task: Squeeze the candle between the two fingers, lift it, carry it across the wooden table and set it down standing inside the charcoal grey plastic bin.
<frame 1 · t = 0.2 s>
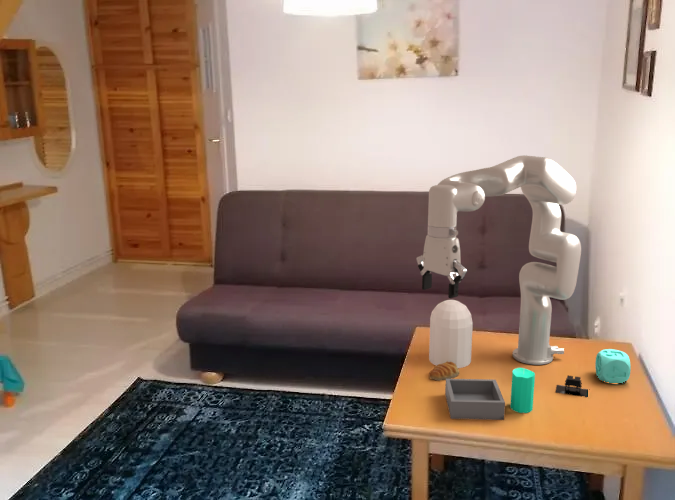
hand: (439, 292, 182), 31 cm above the table, tool pointing down, fingers open, 9 cm apart
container: (449, 360, 214), on the table
bin: (473, 406, 183), on the table
pastry: (444, 376, 203), on the table
candle: (521, 408, 182), on the table
decorative dice: (611, 379, 200), on the table
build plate: (572, 393, 192), on the table
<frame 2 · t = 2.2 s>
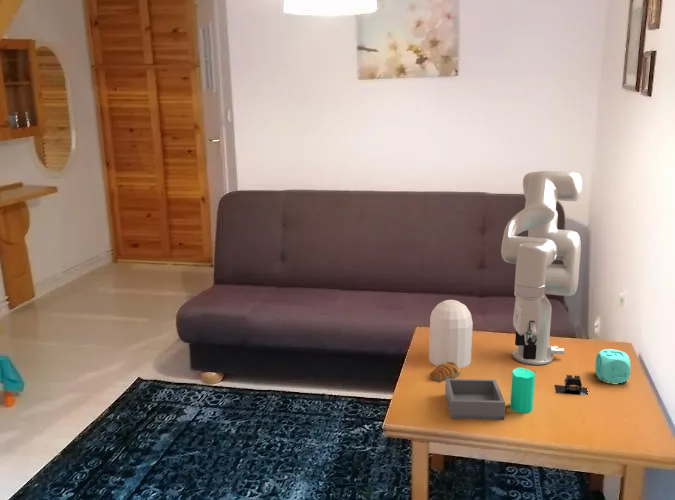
hand: (525, 351, 178), 17 cm above the table, tool pointing down, fingers open, 9 cm apart
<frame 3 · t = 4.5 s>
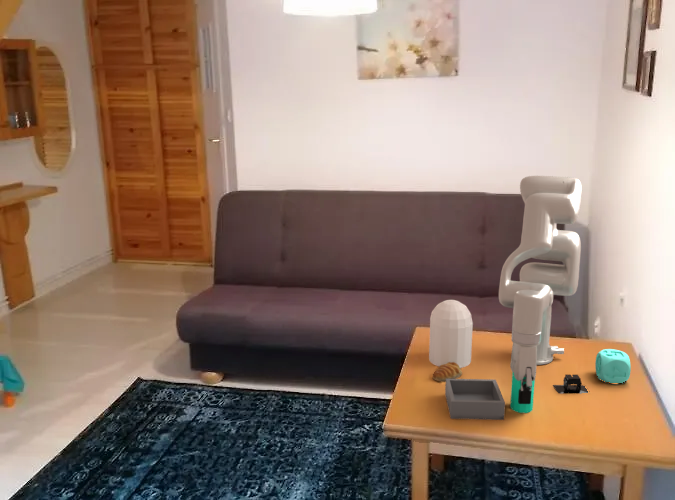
hand: (522, 398, 182), 3 cm above the table, tool pointing down, fingers closed on candle, 4 cm apart
candle: (521, 408, 182), on the table, touching gripper
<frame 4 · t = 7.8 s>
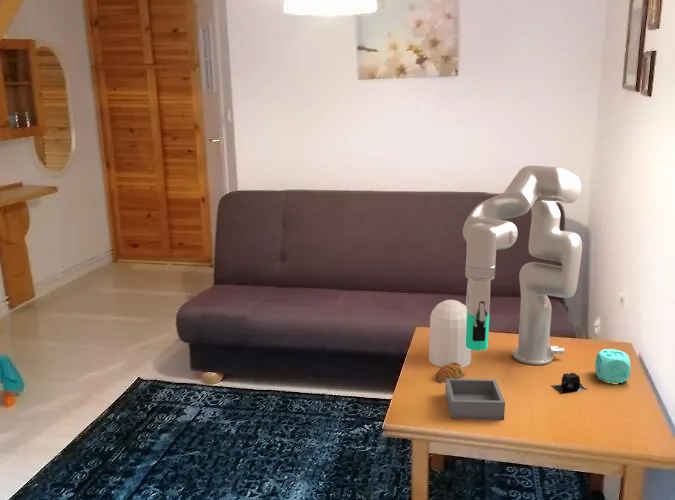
hand: (477, 336, 178), 21 cm above the table, tool pointing down, fingers closed on candle, 4 cm apart
candle: (476, 346, 179), point 18 cm above the table, touching gripper
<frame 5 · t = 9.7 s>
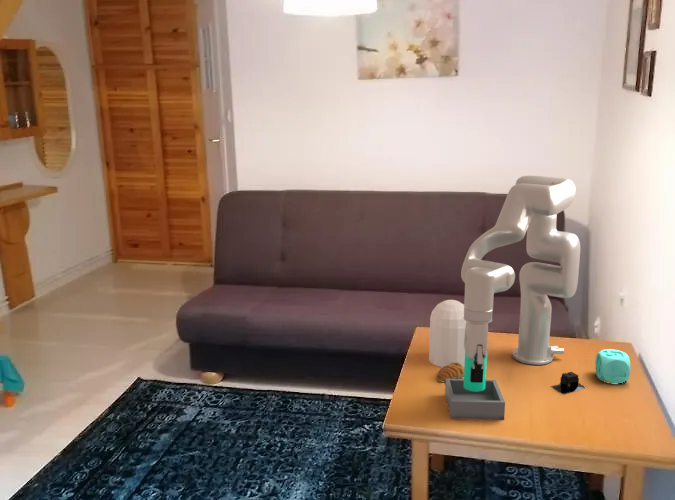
hand: (474, 376, 181), 9 cm above the table, tool pointing down, fingers closed on candle, 4 cm apart
candle: (474, 387, 182), point 6 cm above the table, touching gripper
when the fingers open (5 cm above the table, at t = 11.3 s): candle drops 1 cm, resting on bin.
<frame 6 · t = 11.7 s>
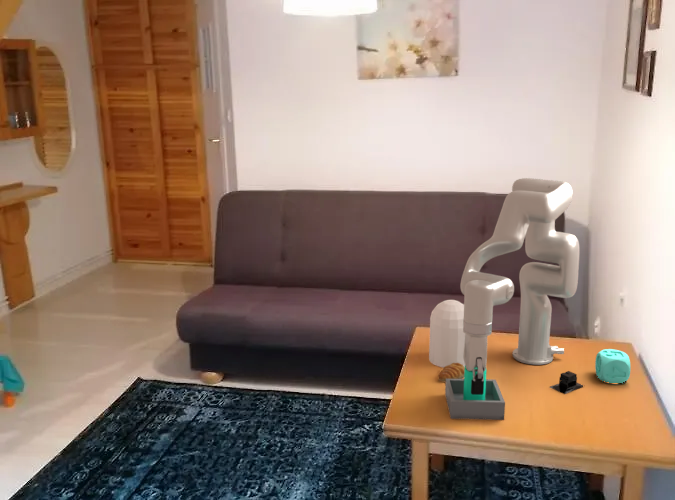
hand: (474, 386, 181), 6 cm above the table, tool pointing down, fingers open, 8 cm apart
candle: (473, 403, 183), point 1 cm above the table, touching bin
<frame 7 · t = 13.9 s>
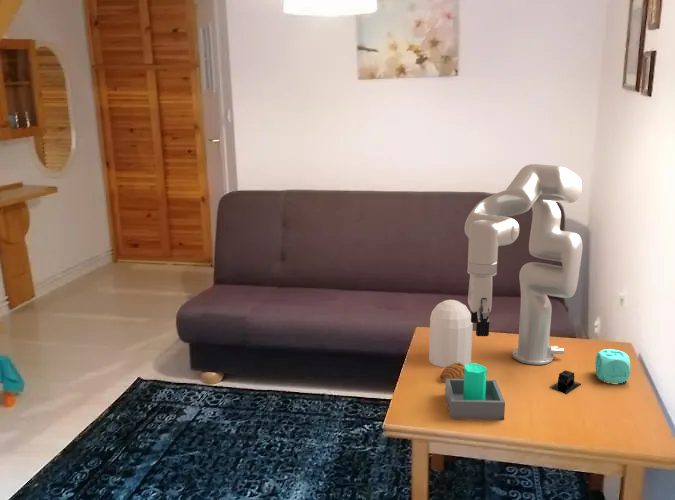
hand: (479, 329, 178), 22 cm above the table, tool pointing down, fingers open, 9 cm apart
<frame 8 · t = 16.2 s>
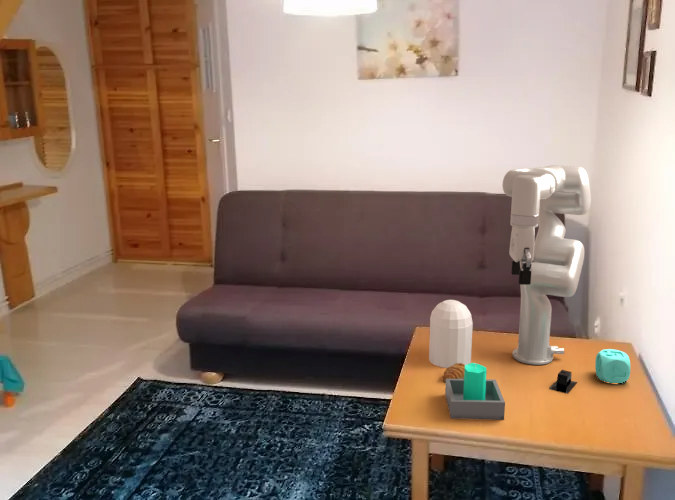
hand: (520, 279, 189), 32 cm above the table, tool pointing down, fingers open, 9 cm apart
at the end: candle inside the target area on the bin (0.3 cm from its centre), point 0.8 cm above the bin's base; candle tilted 0°; the gripper is holding nothing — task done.
